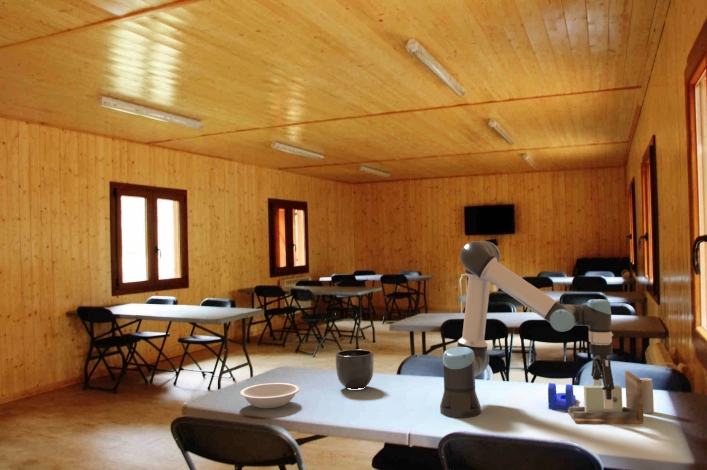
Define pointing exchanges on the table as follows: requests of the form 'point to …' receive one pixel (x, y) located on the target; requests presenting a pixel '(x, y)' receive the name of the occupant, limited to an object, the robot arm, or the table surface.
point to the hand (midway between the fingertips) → (603, 403)
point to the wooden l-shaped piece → (628, 416)
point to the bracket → (560, 398)
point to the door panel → (601, 399)
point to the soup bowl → (269, 394)
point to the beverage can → (647, 395)
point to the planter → (354, 367)
